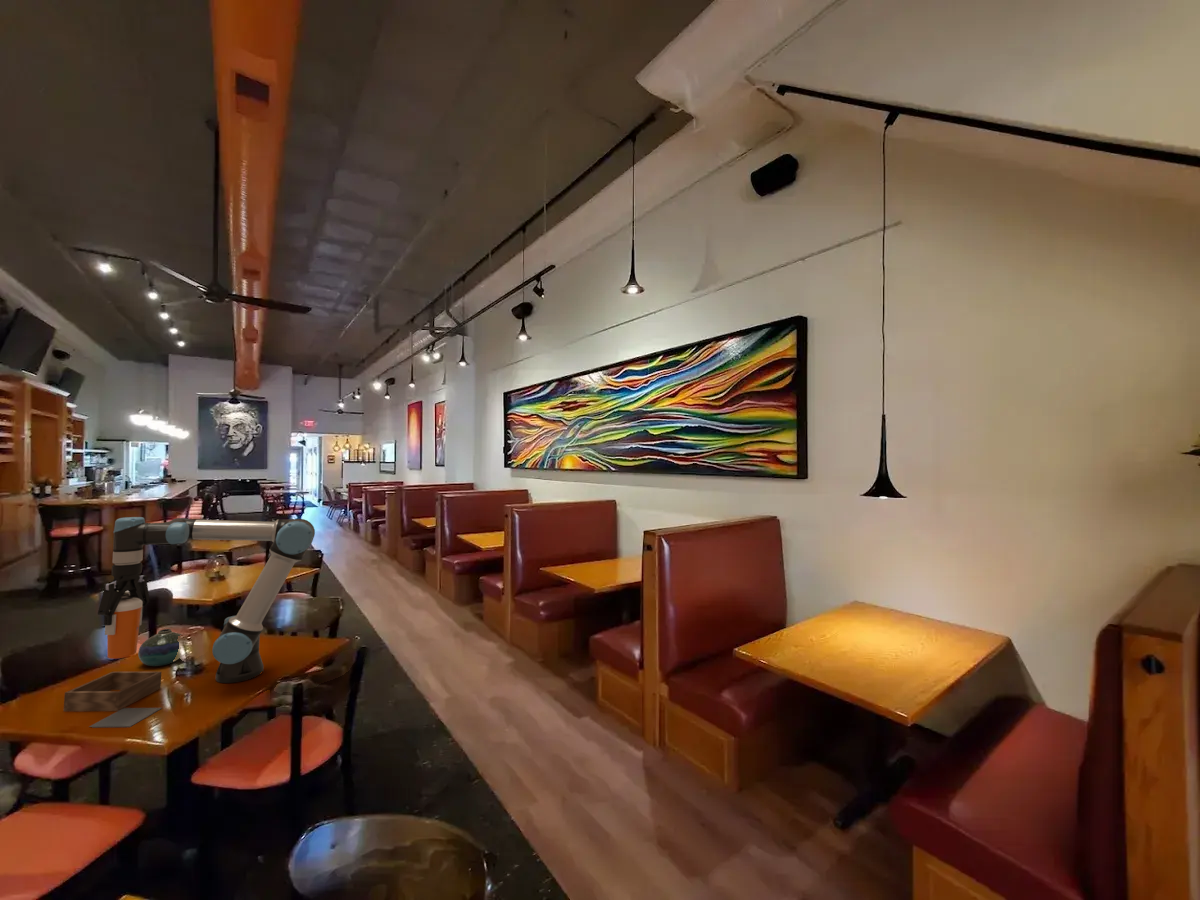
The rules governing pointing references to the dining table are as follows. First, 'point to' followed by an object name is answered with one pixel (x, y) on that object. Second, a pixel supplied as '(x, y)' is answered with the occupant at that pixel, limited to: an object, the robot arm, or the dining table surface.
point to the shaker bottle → (125, 628)
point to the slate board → (125, 717)
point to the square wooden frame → (102, 699)
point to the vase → (159, 648)
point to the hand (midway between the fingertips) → (123, 629)
